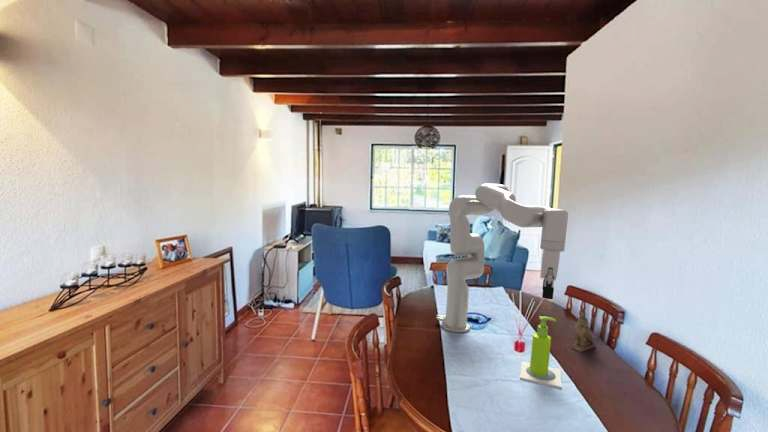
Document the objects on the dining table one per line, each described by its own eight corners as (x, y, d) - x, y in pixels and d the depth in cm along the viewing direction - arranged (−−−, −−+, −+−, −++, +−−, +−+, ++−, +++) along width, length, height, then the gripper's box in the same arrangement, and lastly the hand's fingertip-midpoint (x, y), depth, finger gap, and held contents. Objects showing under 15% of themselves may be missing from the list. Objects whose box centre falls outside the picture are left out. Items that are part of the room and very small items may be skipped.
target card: (519, 379, 130) (519, 377, 130) (521, 362, 142) (522, 360, 142) (561, 388, 125) (561, 386, 125) (560, 370, 137) (560, 369, 137)
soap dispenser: (552, 378, 131) (558, 321, 129) (531, 375, 132) (536, 319, 130) (548, 369, 136) (554, 315, 134) (528, 366, 138) (533, 313, 136)
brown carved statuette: (580, 358, 154) (580, 317, 150) (568, 352, 159) (567, 312, 155) (597, 346, 160) (597, 307, 156) (585, 341, 165) (584, 302, 161)
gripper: (540, 240, 139) (536, 286, 141) (540, 248, 123) (534, 299, 125) (563, 242, 136) (558, 289, 138) (566, 251, 120) (560, 303, 122)
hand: (547, 294), depth 131 cm, fingers open, 9 cm apart
